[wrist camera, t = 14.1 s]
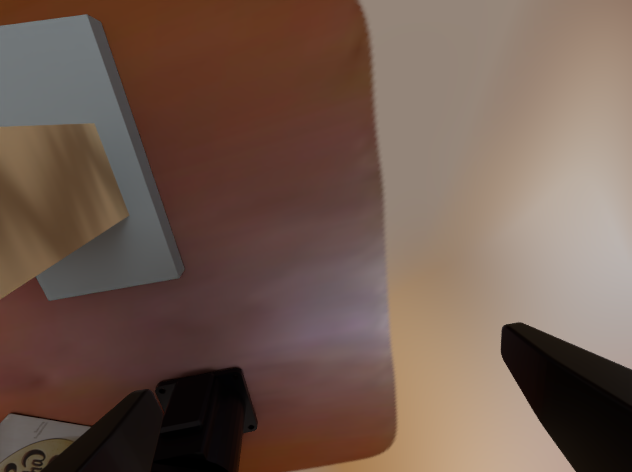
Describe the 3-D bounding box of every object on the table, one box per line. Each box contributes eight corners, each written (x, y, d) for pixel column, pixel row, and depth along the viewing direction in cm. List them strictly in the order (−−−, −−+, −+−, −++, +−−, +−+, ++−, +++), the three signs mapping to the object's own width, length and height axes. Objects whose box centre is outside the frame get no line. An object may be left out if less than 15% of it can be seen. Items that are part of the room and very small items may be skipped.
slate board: (184, 269, 21) (179, 278, 19) (61, 290, 20) (48, 301, 19) (100, 21, 15) (86, 14, 14) (-67, 44, 15) (-95, 38, 14)
